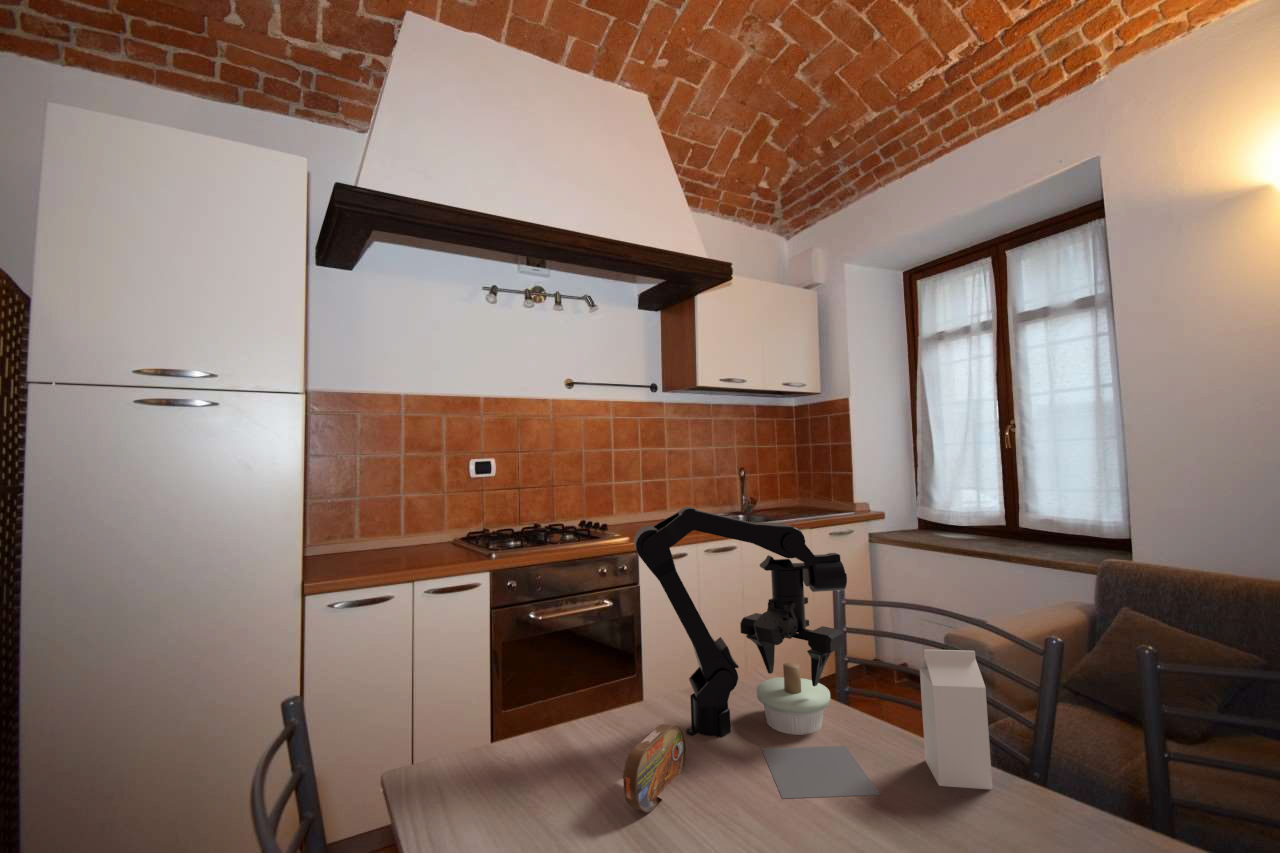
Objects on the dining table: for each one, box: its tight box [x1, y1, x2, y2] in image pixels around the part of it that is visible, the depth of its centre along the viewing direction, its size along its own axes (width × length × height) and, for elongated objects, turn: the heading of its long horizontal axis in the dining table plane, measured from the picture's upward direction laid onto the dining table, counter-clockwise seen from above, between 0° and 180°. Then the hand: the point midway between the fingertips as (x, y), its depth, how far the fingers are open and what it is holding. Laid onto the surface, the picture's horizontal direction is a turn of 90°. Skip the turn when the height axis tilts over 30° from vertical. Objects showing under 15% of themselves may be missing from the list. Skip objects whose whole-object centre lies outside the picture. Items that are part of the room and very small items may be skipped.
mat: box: [761, 745, 881, 800], centre depth 89 cm, size 14×14×1 cm
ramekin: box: [762, 704, 824, 736], centre depth 105 cm, size 11×11×5 cm
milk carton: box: [919, 649, 993, 790], centre depth 87 cm, size 7×7×19 cm
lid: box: [756, 662, 831, 713], centre depth 105 cm, size 13×13×6 cm
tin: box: [622, 724, 687, 813], centre depth 86 cm, size 15×3×8 cm, turn 149°
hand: (792, 679), depth 105 cm, fingers open, 9 cm apart
